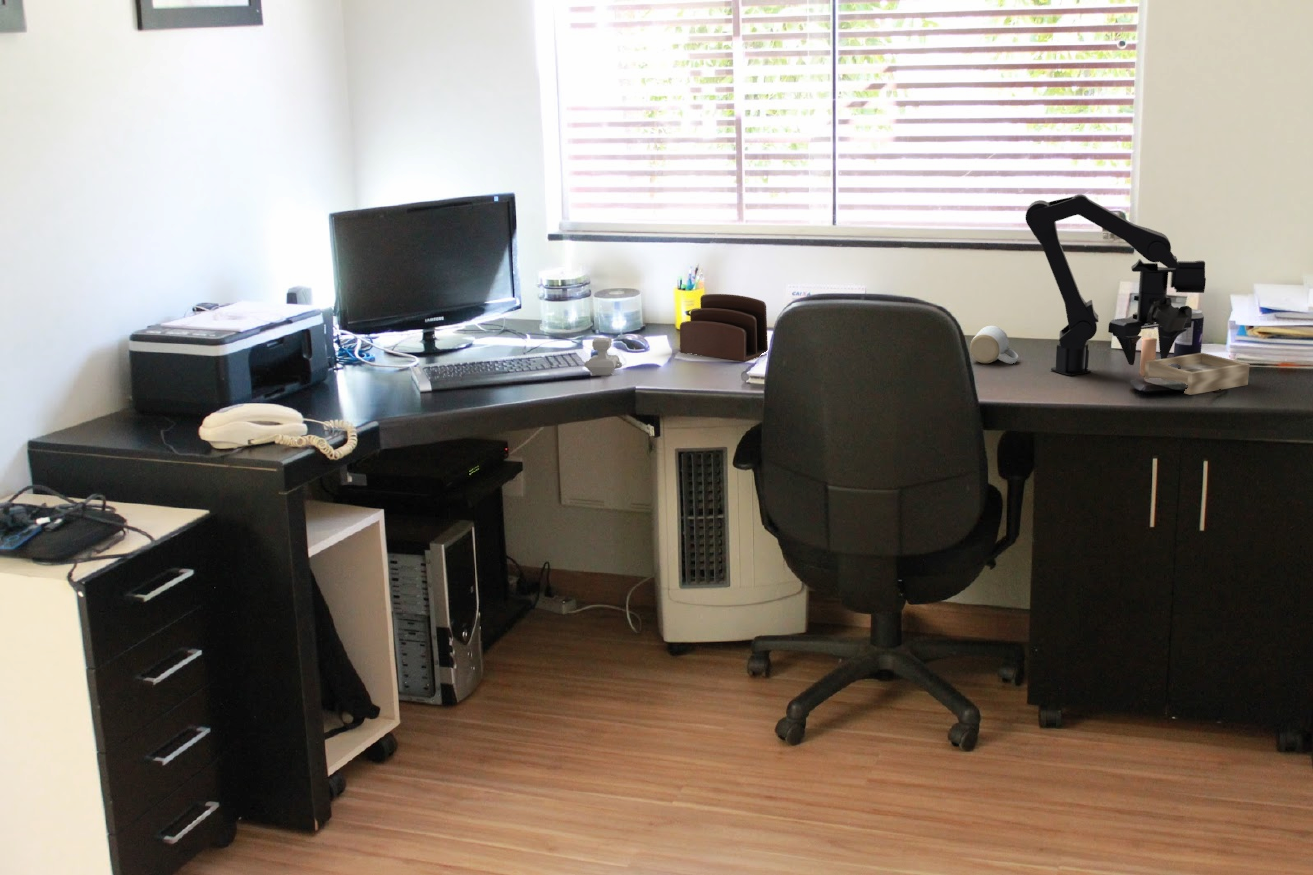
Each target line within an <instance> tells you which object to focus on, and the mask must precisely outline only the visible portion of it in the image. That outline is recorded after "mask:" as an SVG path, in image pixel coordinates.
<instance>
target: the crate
mask: <svg viewBox="0 0 1313 875" xmlns="http://www.w3.org/2000/svg"><path fill="white" fill-rule="evenodd" d="M1171 364H1178V365H1180V366H1181V369H1178V368H1175V367H1171V366H1168V365H1171ZM1250 367H1251V366H1250V363H1247V362H1242V361H1238V360H1234V359H1231V358H1226V357H1221V356H1217V355H1213V354H1210V353H1207V352H1206V353H1205V352H1201V353H1196V354H1190V355H1183V356H1177V357H1174V356H1173V357H1167V358H1164V359H1161V358H1158V359H1155V360H1152V361H1146V365H1145V376H1144V379H1149V378H1161V379H1165V380H1175V381H1180V382H1183V383H1185V384H1186V385H1188V388H1187V389H1185V391H1184V393H1183V394H1186V395H1190V396H1191V395H1197V394H1203V393H1208V392H1214V391H1220V390H1219V389H1221V390H1227V389H1231V388H1238V387H1242V386H1244V387H1245V386H1248V384H1249V374H1250Z"/></svg>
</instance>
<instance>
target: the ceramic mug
mask: <svg viewBox="0 0 1313 875" xmlns="http://www.w3.org/2000/svg"><path fill="white" fill-rule="evenodd" d="M1009 346H1010V340H1009V338H1008V335H1007V333H1006V332H1005V331H1004V330H1003V329H1002V328H1001V327H998V326H996V325H987V326H984V327H982V328H981V329H980V330H979V331H978V332H977V333H976V335H975V336H974V337H973V338H972V339H971V342H970V344H969V352H970V355H971V357H972V358H973V359H974V360H975V361H976V362H978V363H980V364H990V363H993V362H996V361H997V360H999V361H1001V362H1003V363H1005V364H1010V365H1012V364H1013V363H1014V364H1016V363H1017V361H1018V359H1019V355H1018V353H1017V352H1015V351H1014V350H1013V349H1011V348H1010V347H1009ZM1005 354H1006V355H1005ZM1014 364H1013V365H1014Z"/></svg>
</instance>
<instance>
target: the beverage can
mask: <svg viewBox="0 0 1313 875" xmlns="http://www.w3.org/2000/svg"><path fill="white" fill-rule="evenodd" d="M1204 318H1205V317H1204V314H1203V310H1199V309H1195V308H1194V309H1193V308H1192V324H1191V327H1190V328H1184V329H1187V330H1186V331H1185V332H1183V333H1181V334H1180V335H1178V336H1177V338H1176V339H1175V341H1174V343H1173V345H1174V347H1173V348H1174V349H1173V357H1177V356H1183V355H1190V354H1196V353H1202V345H1203V344H1202V343H1203V332H1204V321H1205V320H1204Z"/></svg>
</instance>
